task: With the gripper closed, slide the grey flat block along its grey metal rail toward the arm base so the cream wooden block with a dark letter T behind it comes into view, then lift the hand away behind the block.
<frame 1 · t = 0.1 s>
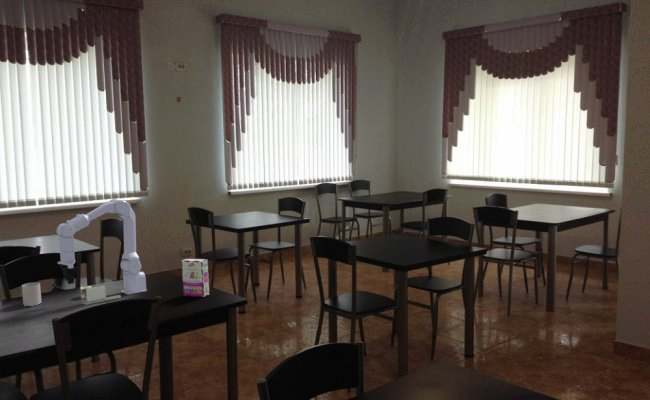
hand: (69, 281, 260), 10 cm above the table, tool pointing down, fingers open, 7 cm apart
cup: (32, 304, 264), on the table
rail: (102, 300, 266), on the table
grey flat block: (96, 293, 264), point 4 cm above the table, slide at 0.0 cm
letter block: (86, 297, 273), on the table
candy bar box: (196, 295, 271), on the table
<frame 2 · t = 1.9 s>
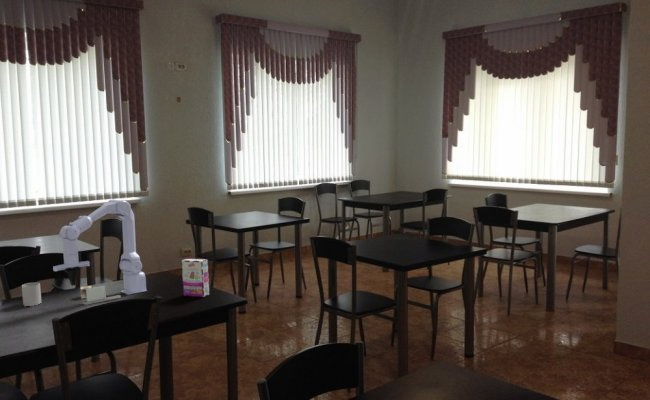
hand: (73, 285, 257), 9 cm above the table, tool pointing down, fingers closed
nothing on the table moved.
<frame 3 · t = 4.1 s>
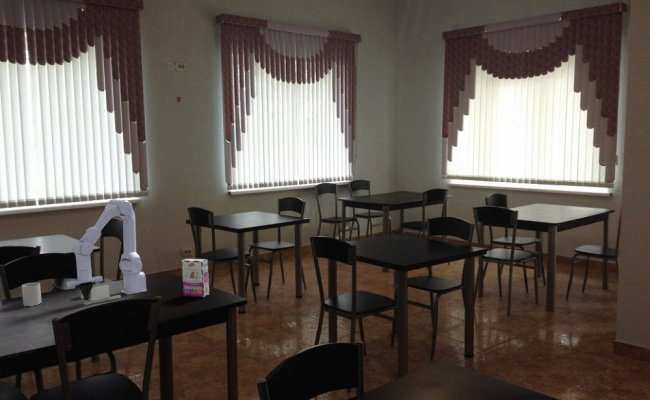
hand: (86, 299, 261), 2 cm above the table, tool pointing down, fingers closed
grey flat block: (99, 293, 265), point 4 cm above the table, slide at 1.7 cm, touching gripper
everything else where it was.
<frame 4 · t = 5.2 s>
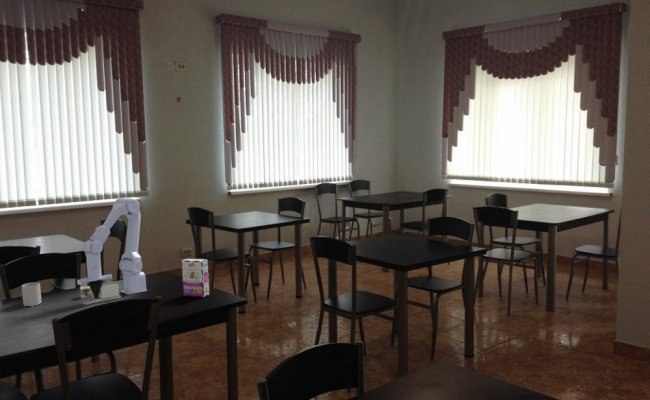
hand: (96, 297, 264), 2 cm above the table, tool pointing down, fingers closed
grey flat block: (109, 291, 268), point 4 cm above the table, slide at 6.0 cm, touching gripper
everything else where it was.
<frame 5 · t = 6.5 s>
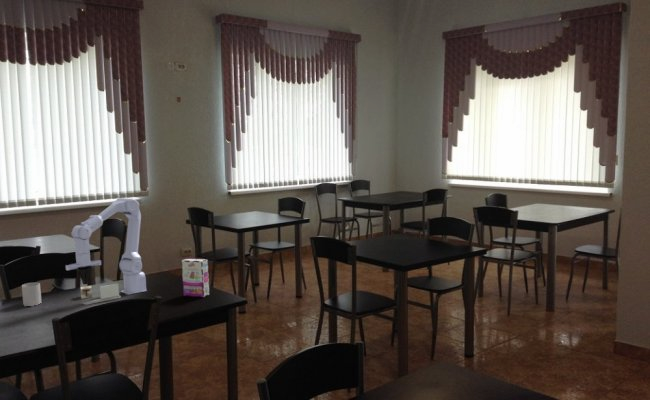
hand: (85, 283, 260), 9 cm above the table, tool pointing down, fingers closed
grey flat block: (109, 291, 268), point 4 cm above the table, slide at 6.0 cm
everything else where it was.
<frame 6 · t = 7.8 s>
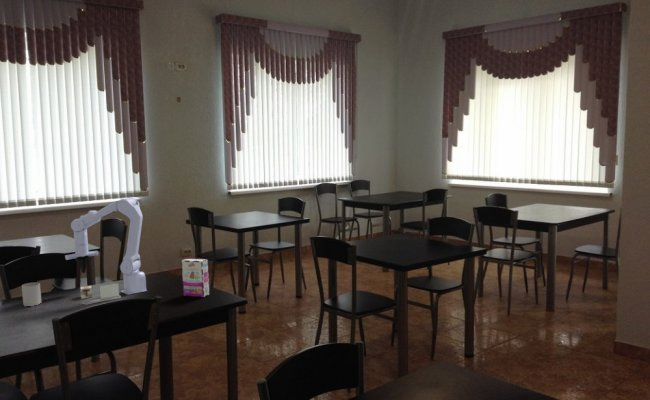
hand: (83, 272, 281), 9 cm above the table, tool pointing down, fingers closed
nothing on the table moved.
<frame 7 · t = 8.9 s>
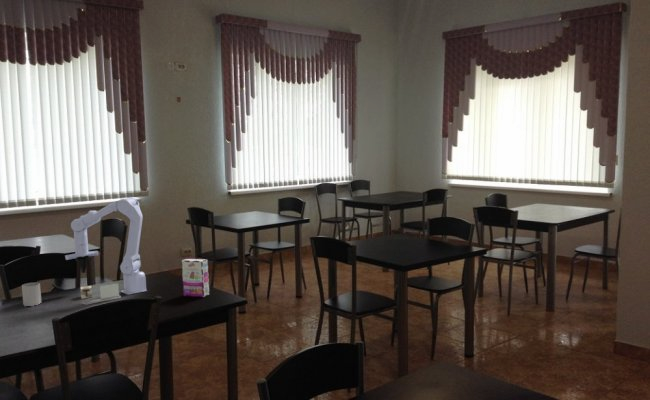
hand: (83, 272, 281), 9 cm above the table, tool pointing down, fingers closed
nothing on the table moved.
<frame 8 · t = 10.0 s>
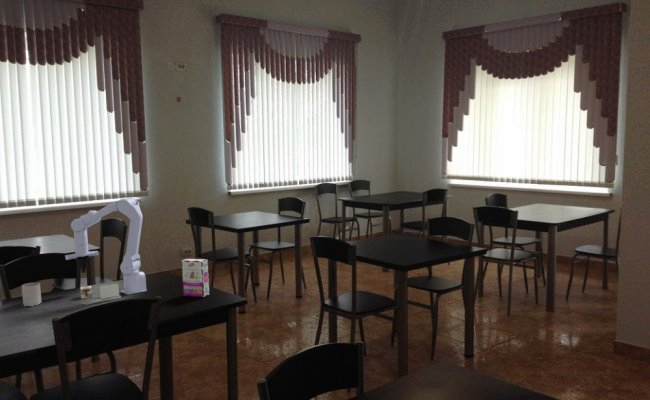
hand: (83, 272, 281), 9 cm above the table, tool pointing down, fingers closed
nothing on the table moved.
at the end: grey flat block slide at 6.0 cm; letter block moved 0.1 cm from its start; letter block tilted 0° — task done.
